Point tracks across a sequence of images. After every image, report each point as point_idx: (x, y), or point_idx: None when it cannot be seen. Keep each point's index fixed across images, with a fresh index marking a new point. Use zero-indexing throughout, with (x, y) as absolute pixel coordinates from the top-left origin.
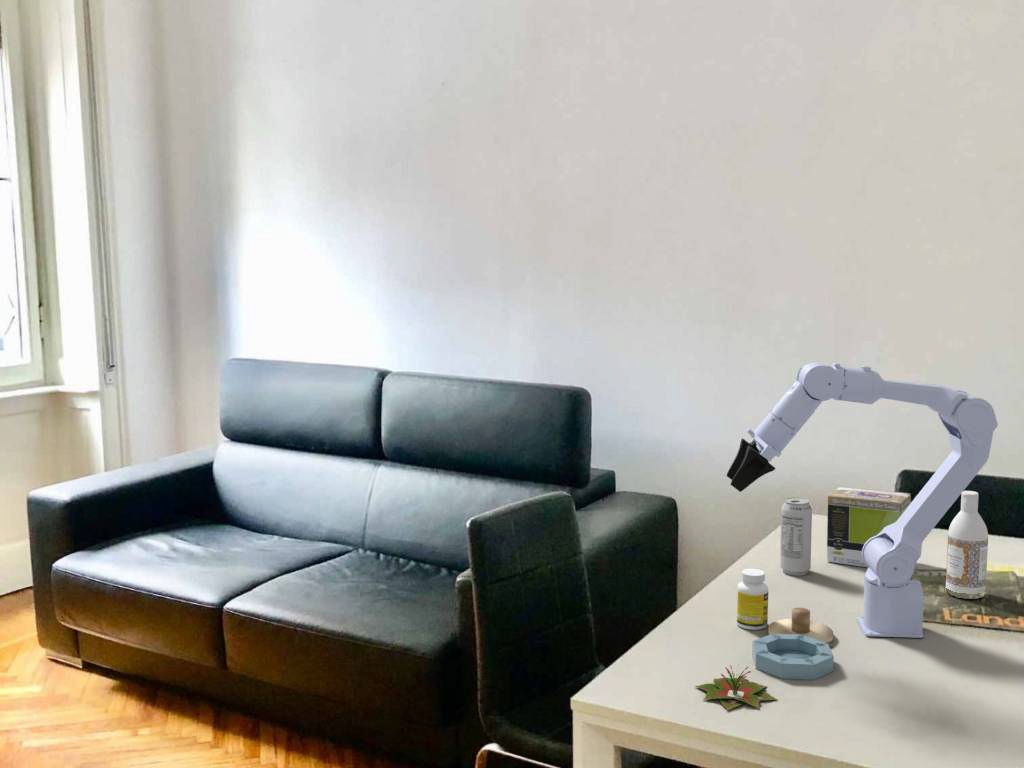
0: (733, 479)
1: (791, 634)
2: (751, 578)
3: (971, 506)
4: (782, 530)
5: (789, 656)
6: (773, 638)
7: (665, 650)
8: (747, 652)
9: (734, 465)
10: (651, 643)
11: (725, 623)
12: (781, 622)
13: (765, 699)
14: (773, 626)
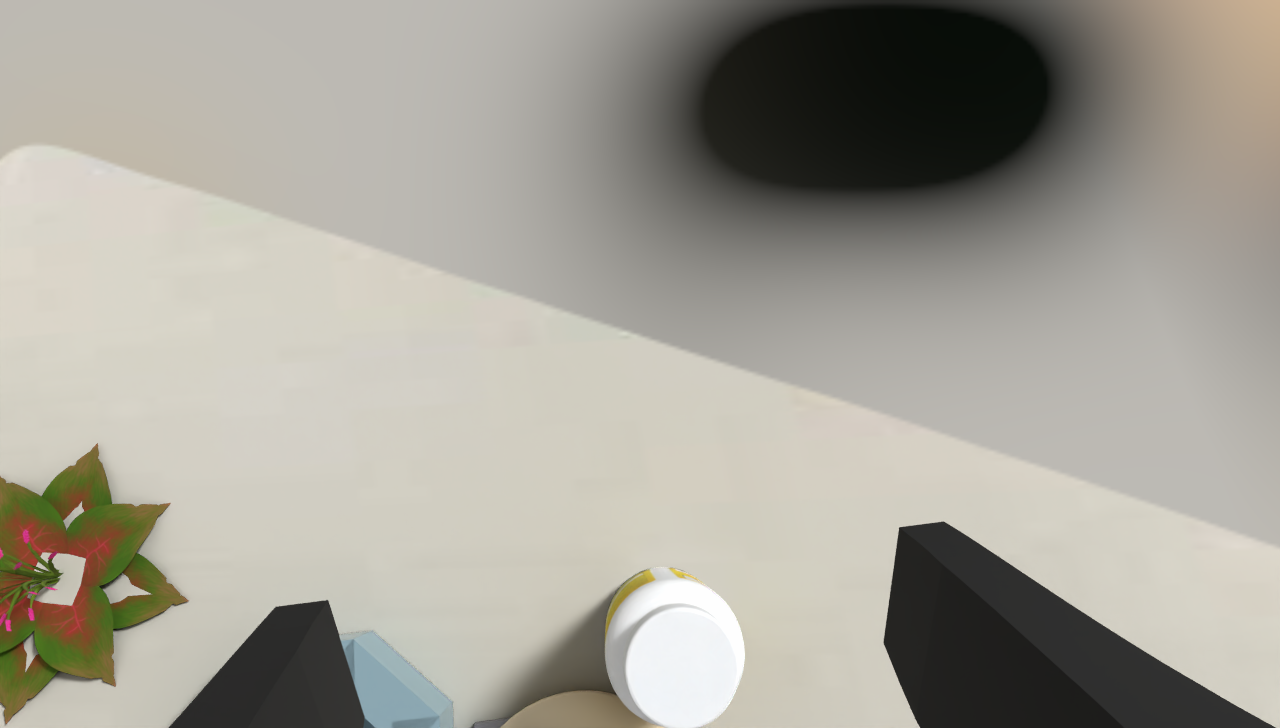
0: (228, 662)
1: None
2: (624, 656)
3: None
4: None
5: None
6: (389, 722)
7: (383, 336)
8: (401, 611)
9: (1019, 666)
10: (436, 288)
11: (660, 525)
12: None
13: (2, 679)
14: (601, 715)
